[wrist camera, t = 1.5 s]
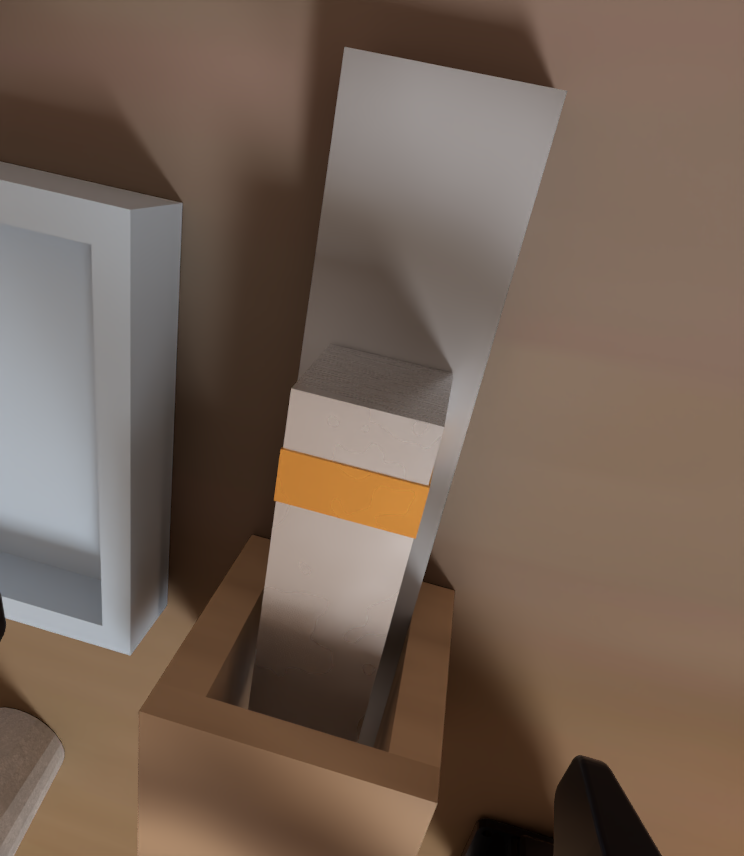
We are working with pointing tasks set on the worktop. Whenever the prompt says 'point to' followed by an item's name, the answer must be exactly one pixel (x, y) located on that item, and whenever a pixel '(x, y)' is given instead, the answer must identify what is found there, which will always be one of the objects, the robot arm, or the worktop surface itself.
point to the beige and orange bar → (343, 532)
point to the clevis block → (418, 601)
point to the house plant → (24, 773)
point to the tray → (86, 404)
